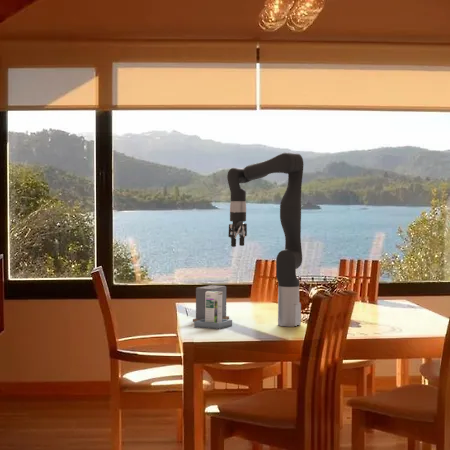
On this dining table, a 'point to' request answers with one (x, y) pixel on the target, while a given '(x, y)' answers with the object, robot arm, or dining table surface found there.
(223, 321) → the tray
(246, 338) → the dining table surface
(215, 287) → the mounted unit
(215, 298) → the syrup box
